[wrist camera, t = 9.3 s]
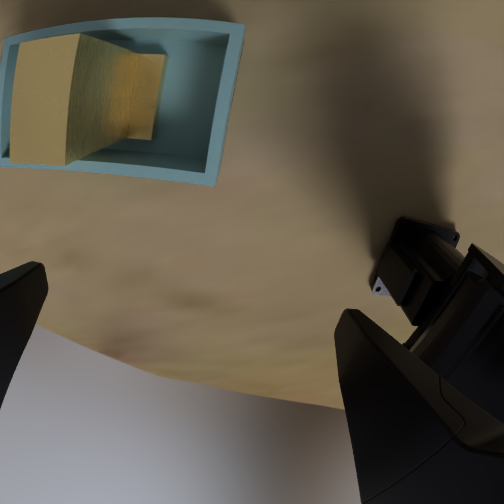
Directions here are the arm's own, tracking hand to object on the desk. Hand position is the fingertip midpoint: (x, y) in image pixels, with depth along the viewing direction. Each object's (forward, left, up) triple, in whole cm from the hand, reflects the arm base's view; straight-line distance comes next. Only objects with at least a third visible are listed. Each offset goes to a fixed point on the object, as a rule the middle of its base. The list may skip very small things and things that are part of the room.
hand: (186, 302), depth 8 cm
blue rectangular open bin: (+7, -5, -12) cm, 15 cm away
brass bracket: (+7, -5, -11) cm, 14 cm away
